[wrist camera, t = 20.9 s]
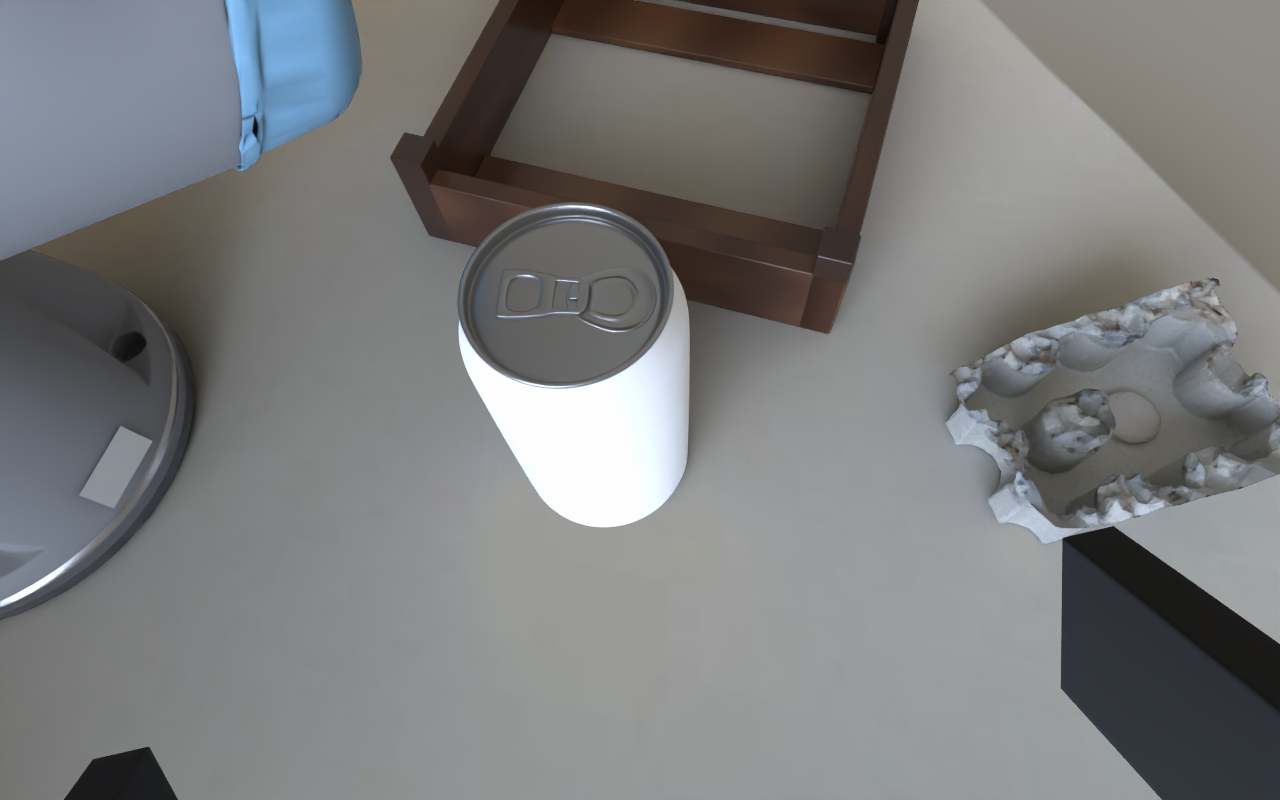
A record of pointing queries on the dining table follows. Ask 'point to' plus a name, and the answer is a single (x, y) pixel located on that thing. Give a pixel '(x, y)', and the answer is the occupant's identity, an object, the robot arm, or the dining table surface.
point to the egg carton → (1119, 414)
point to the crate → (687, 231)
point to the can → (582, 357)
